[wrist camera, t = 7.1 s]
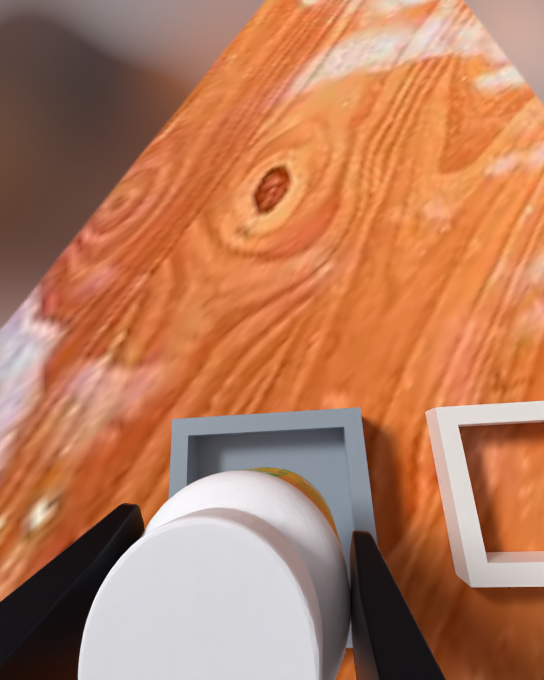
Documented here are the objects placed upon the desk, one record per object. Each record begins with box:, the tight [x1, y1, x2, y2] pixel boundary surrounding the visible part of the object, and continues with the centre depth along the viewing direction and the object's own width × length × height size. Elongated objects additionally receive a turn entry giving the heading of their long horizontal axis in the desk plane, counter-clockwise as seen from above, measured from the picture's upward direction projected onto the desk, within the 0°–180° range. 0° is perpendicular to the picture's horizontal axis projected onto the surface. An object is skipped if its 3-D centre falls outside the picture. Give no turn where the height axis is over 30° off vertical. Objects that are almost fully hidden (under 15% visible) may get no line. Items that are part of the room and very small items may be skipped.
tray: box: [169, 407, 378, 648], centre depth 19 cm, size 11×11×2 cm
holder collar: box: [425, 401, 544, 587], centre depth 19 cm, size 9×9×2 cm
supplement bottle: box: [78, 467, 351, 680], centre depth 10 cm, size 5×5×10 cm
